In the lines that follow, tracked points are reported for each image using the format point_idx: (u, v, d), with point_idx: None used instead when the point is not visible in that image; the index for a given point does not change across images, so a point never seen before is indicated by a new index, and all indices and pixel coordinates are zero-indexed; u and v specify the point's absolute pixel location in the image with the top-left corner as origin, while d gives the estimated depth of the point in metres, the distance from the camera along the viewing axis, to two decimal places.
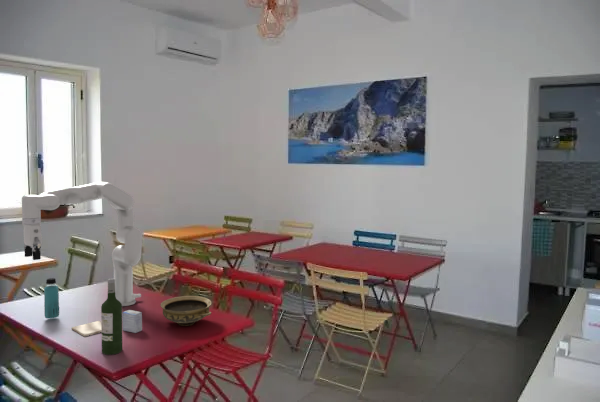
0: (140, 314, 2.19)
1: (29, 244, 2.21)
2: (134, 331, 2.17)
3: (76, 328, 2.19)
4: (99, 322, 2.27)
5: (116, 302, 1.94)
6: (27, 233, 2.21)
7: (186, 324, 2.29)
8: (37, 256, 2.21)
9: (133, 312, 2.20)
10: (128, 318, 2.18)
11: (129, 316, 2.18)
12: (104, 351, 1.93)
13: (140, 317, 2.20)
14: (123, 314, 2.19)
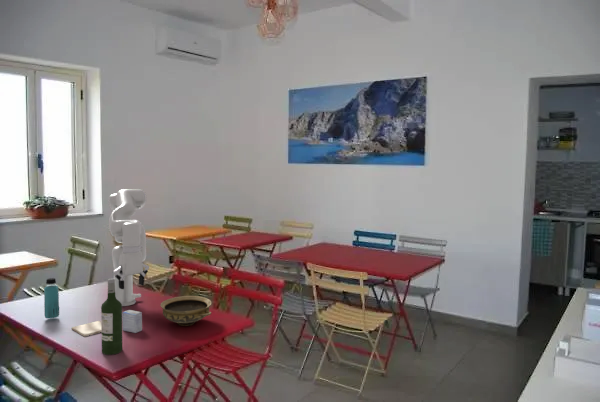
0: (140, 314, 2.19)
1: (138, 271, 2.19)
2: (134, 331, 2.17)
3: (76, 328, 2.19)
4: (99, 322, 2.27)
5: (116, 302, 1.94)
6: (137, 261, 2.18)
7: (186, 324, 2.29)
8: None
9: (133, 312, 2.20)
10: (128, 318, 2.18)
11: (129, 316, 2.18)
12: (104, 351, 1.93)
13: (140, 317, 2.20)
14: (123, 314, 2.19)
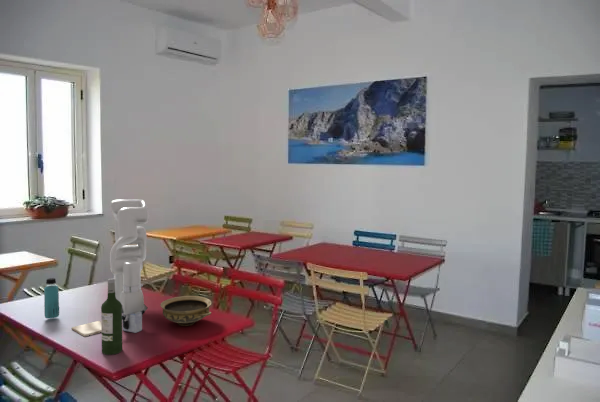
0: (140, 314, 2.19)
1: (139, 309, 2.20)
2: (134, 331, 2.17)
3: (76, 328, 2.19)
4: (99, 322, 2.27)
5: (116, 302, 1.94)
6: (137, 299, 2.19)
7: (186, 324, 2.29)
8: None
9: None
10: (128, 318, 2.18)
11: (129, 316, 2.18)
12: (104, 351, 1.93)
13: (140, 317, 2.19)
14: None
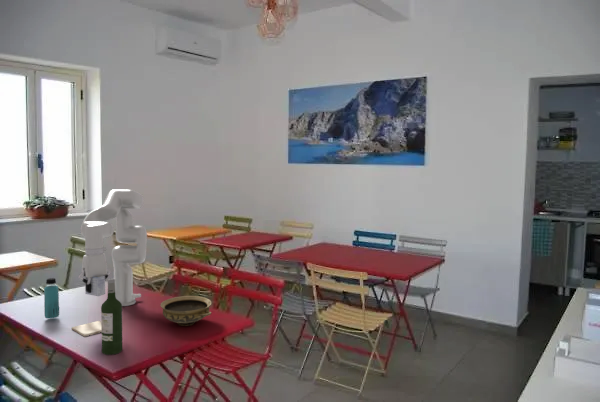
0: (103, 278, 2.18)
1: (102, 273, 2.19)
2: (96, 294, 2.16)
3: (76, 328, 2.19)
4: (99, 322, 2.27)
5: (116, 302, 1.94)
6: (100, 263, 2.18)
7: (186, 324, 2.29)
8: None
9: (96, 276, 2.19)
10: (91, 281, 2.17)
11: (92, 279, 2.17)
12: (104, 351, 1.93)
13: (103, 281, 2.18)
14: None
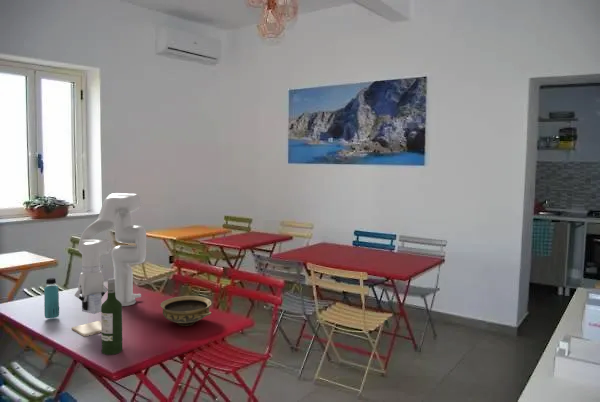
0: (99, 295, 2.19)
1: (98, 290, 2.20)
2: (93, 312, 2.17)
3: (76, 328, 2.19)
4: (99, 322, 2.27)
5: (116, 302, 1.94)
6: (97, 280, 2.19)
7: (186, 324, 2.29)
8: None
9: None
10: (88, 299, 2.18)
11: (88, 297, 2.17)
12: (104, 351, 1.93)
13: (99, 298, 2.19)
14: None
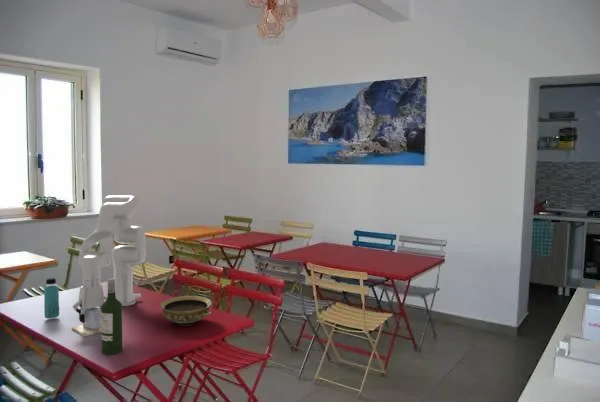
0: (99, 311, 2.19)
1: (99, 303, 2.20)
2: (93, 328, 2.18)
3: (76, 328, 2.19)
4: None
5: (116, 302, 1.94)
6: (97, 294, 2.19)
7: (186, 324, 2.29)
8: None
9: (93, 309, 2.20)
10: (88, 315, 2.19)
11: (88, 313, 2.18)
12: (104, 351, 1.93)
13: (100, 314, 2.20)
14: None
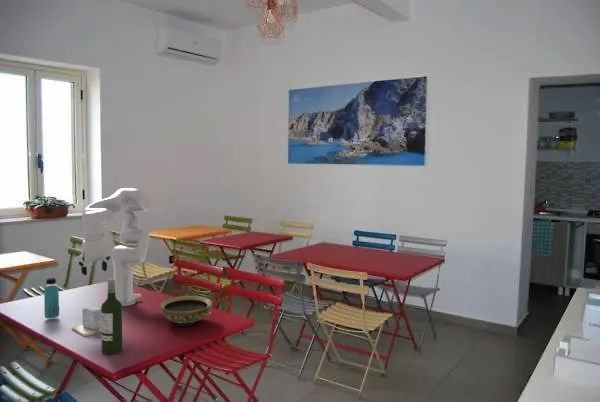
0: (99, 311, 2.19)
1: (101, 257, 2.29)
2: (93, 328, 2.18)
3: (76, 328, 2.19)
4: None
5: (116, 302, 1.94)
6: (99, 248, 2.28)
7: (186, 324, 2.29)
8: None
9: (93, 309, 2.20)
10: (88, 315, 2.19)
11: (88, 313, 2.18)
12: (104, 351, 1.93)
13: (100, 314, 2.20)
14: (83, 310, 2.20)
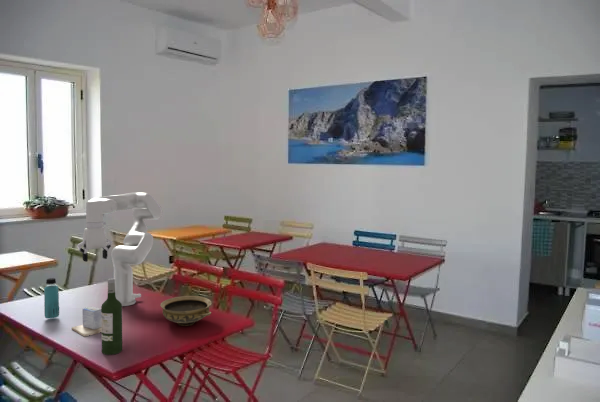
0: (100, 311, 2.19)
1: (101, 245, 2.37)
2: (93, 328, 2.18)
3: (76, 328, 2.19)
4: None
5: (116, 302, 1.94)
6: (100, 236, 2.36)
7: (186, 324, 2.29)
8: None
9: (93, 309, 2.20)
10: (88, 315, 2.19)
11: (88, 313, 2.18)
12: (104, 351, 1.93)
13: (100, 314, 2.20)
14: (83, 310, 2.20)
